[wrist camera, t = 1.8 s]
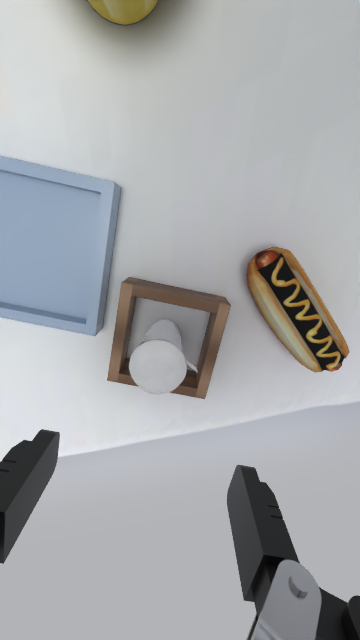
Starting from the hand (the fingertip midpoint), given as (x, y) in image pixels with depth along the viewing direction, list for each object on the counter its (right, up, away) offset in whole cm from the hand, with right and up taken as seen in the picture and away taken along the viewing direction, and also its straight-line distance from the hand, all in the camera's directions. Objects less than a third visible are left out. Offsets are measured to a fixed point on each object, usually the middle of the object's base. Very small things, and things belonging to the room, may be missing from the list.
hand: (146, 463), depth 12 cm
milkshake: (0, +5, +17) cm, 18 cm away
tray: (-12, +13, +14) cm, 23 cm away
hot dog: (+12, +8, +16) cm, 22 cm away
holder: (0, +5, +17) cm, 18 cm away
